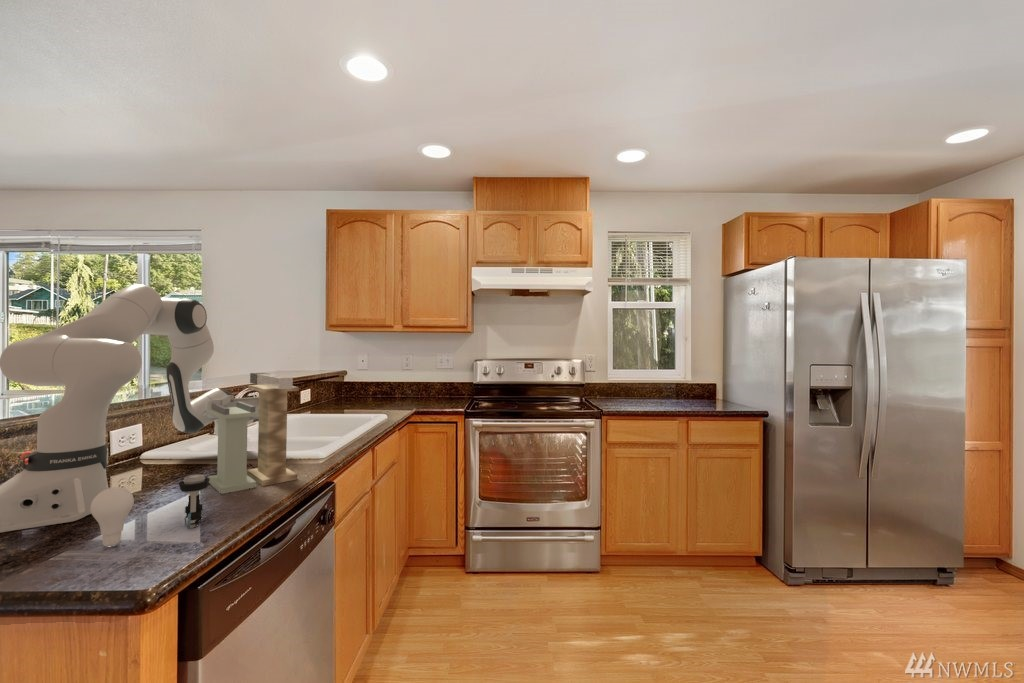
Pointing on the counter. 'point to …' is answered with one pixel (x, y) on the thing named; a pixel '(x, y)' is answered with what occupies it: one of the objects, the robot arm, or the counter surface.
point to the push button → (194, 497)
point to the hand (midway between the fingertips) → (248, 396)
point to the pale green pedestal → (232, 448)
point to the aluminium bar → (271, 380)
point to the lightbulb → (112, 512)
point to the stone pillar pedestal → (272, 437)
